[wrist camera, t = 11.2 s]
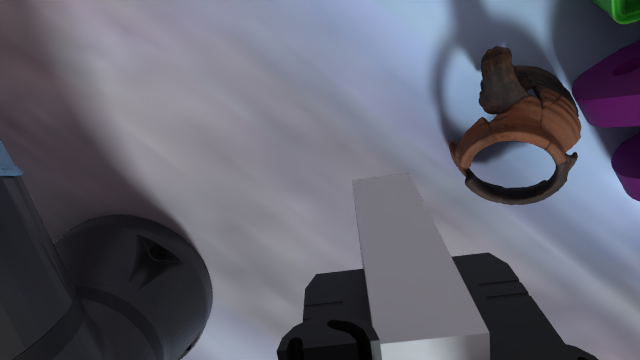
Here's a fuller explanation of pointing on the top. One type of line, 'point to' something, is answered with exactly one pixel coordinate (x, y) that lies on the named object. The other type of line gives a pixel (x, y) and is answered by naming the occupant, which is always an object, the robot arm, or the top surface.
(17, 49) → the top surface
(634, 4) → the fruit basket
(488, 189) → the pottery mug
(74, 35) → the top surface
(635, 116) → the mounting bracket
